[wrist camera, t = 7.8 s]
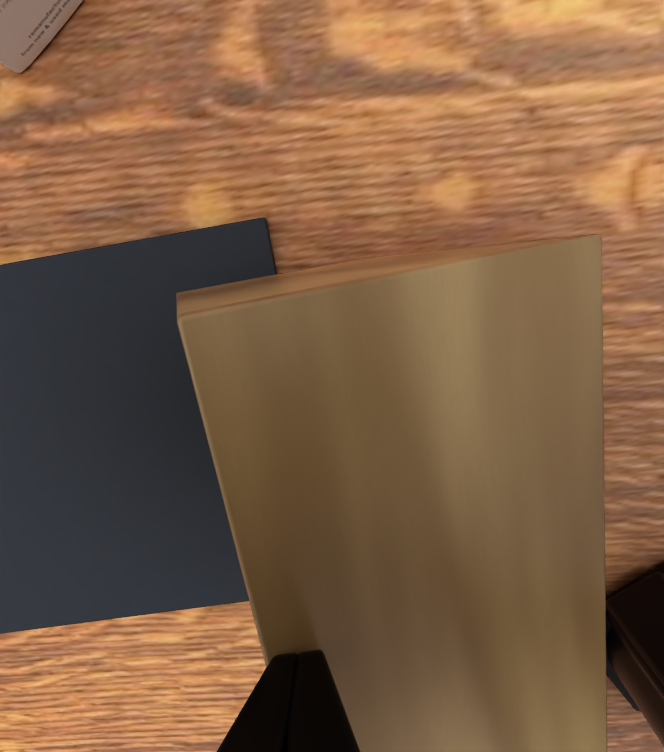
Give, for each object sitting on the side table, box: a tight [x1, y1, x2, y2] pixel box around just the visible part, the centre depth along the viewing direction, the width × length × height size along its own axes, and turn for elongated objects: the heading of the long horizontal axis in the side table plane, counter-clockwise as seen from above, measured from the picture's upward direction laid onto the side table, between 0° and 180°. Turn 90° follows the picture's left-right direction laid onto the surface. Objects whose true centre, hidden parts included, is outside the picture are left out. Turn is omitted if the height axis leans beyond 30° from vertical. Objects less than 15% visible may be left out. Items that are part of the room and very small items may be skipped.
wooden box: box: [176, 234, 607, 752], centre depth 13 cm, size 10×12×7 cm
